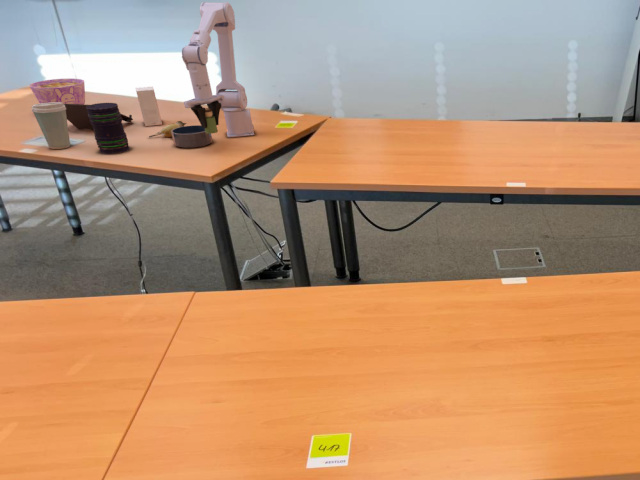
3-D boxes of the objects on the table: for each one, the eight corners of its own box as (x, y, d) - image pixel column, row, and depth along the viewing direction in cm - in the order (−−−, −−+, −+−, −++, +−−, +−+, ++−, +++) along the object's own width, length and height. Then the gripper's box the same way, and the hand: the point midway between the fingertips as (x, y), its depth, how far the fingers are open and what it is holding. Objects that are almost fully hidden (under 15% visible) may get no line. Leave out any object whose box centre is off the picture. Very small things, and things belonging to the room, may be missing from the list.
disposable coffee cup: (39, 147, 258) (24, 102, 250) (71, 141, 265) (57, 98, 257) (50, 152, 252) (35, 107, 244) (82, 146, 259) (69, 102, 251)
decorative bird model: (175, 130, 264) (184, 116, 270) (143, 135, 266) (153, 121, 272) (181, 141, 267) (190, 127, 274) (149, 145, 269) (159, 132, 275)
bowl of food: (77, 118, 295) (68, 88, 288) (29, 118, 295) (18, 87, 289) (101, 107, 311) (93, 78, 305) (55, 107, 312) (46, 78, 305)
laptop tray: (139, 139, 290) (139, 115, 289) (98, 125, 267) (98, 99, 266) (87, 136, 293) (87, 113, 292) (42, 122, 270) (42, 96, 269)
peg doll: (217, 130, 255) (212, 106, 250) (218, 132, 252) (212, 108, 247) (205, 131, 254) (200, 107, 249) (205, 134, 250) (200, 109, 246)
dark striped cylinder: (133, 145, 260) (120, 102, 251) (127, 153, 252) (114, 108, 243) (103, 147, 258) (89, 103, 250) (96, 155, 250) (82, 109, 242)
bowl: (212, 137, 269) (208, 123, 266) (213, 146, 259) (210, 132, 256) (174, 141, 265) (170, 127, 262) (174, 150, 255) (171, 135, 252)
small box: (162, 124, 285) (153, 89, 278) (145, 126, 283) (135, 91, 276) (161, 120, 292) (152, 86, 284) (144, 122, 289) (135, 87, 282)
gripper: (189, 89, 237) (199, 132, 245) (226, 82, 247) (235, 123, 255) (176, 86, 241) (186, 129, 248) (213, 80, 251) (222, 120, 258)
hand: (210, 126), depth 252 cm, fingers closed on peg doll, 4 cm apart
